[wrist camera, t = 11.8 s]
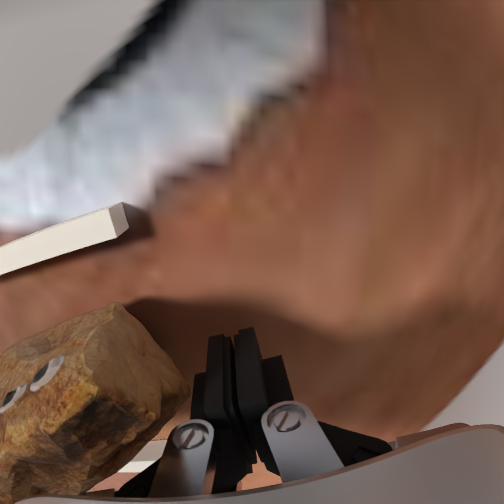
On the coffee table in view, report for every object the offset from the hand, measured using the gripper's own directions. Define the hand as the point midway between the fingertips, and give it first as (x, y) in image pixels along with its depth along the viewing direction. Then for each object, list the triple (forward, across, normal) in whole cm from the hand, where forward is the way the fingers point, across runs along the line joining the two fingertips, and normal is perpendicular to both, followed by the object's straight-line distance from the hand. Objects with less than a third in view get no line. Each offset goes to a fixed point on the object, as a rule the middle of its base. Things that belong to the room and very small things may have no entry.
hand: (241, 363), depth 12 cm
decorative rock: (+2, +7, -1) cm, 7 cm away
